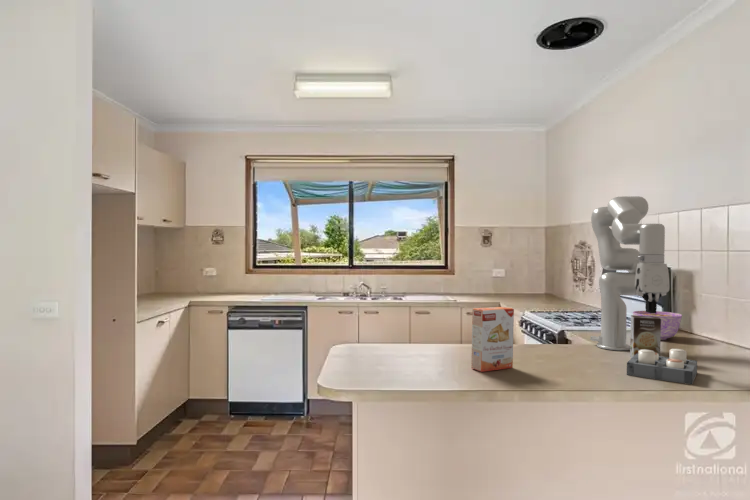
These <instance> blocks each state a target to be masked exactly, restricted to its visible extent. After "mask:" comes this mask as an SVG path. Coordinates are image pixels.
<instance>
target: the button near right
mask: <svg viewBox="0 0 750 500" xmlns="http://www.w3.org/2000/svg"><path fill="white" fill-rule="evenodd" d="M666 367H673V368H680V369H684V361H682V360H679V359H667V360H666Z"/></svg>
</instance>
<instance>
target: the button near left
mask: <svg viewBox="0 0 750 500" xmlns="http://www.w3.org/2000/svg"><path fill="white" fill-rule="evenodd" d="M638 363H642V364H650V365H655V352H654V351H652V350H646V349H641V350H639V351H638Z"/></svg>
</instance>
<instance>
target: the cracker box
mask: <svg viewBox="0 0 750 500" xmlns="http://www.w3.org/2000/svg"><path fill="white" fill-rule="evenodd" d="M514 317H515V309H514V308H512V307H508V306H507V307H506V306H496V307H495V306H494V307H476V308H472V317H471V318H472V325H471V369H472V370H476V371H478V372H481V373H483V372H484V373H485V372H492V371H498V370H500V371H501V370H507V369H513V368H514V367H513V366H514V365H513V364H514V362H513V361H514V326H515V325H514V319H515V318H514Z"/></svg>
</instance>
